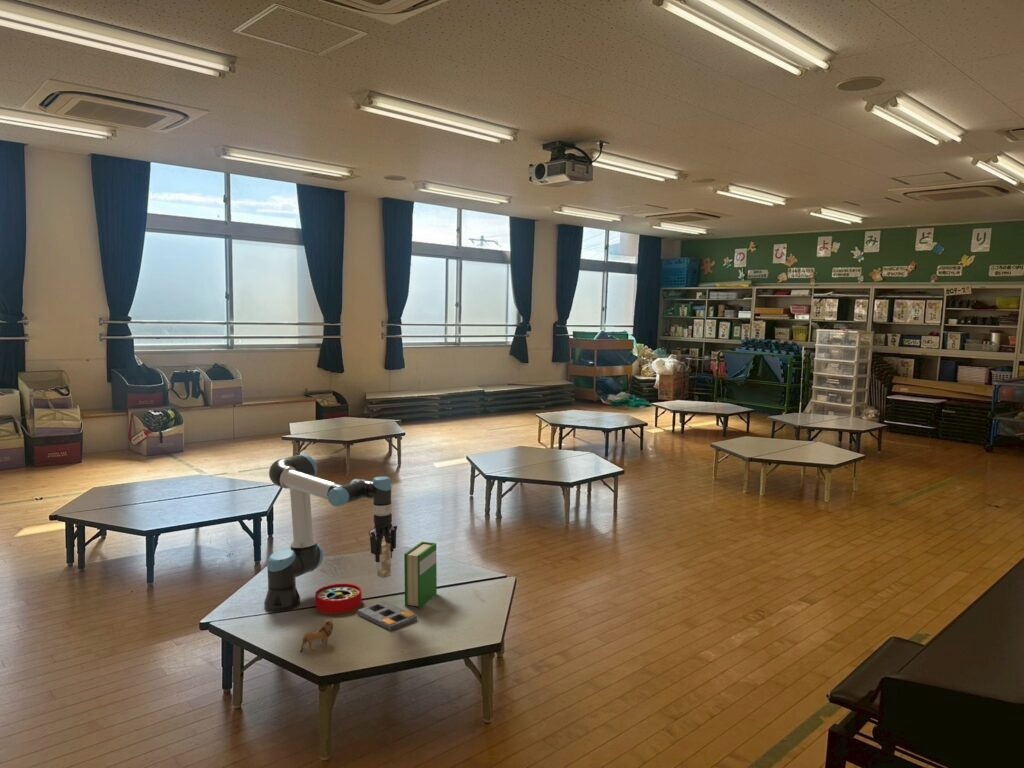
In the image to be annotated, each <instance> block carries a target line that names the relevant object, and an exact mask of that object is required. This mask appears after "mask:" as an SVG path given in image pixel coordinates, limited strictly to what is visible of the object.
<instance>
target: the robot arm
mask: <svg viewBox="0 0 1024 768" xmlns="http://www.w3.org/2000/svg"><path fill="white" fill-rule="evenodd" d="M317 473H318V466H317V462H316V460H315V459H313V457H312V456H311V455H310V454H306V453H305V454H304V453H302V454H296V455H292V456H288V457H284V458H279V459H277V460H275V461H273V462H272V464H271V465H270V468H269V470H268V477H269V479H270V481H271V482H272V484H274V485H276V486H278V487H280V488H282V489H289V495H290V497H289V498H290V509H291V520H292V523H291V524H292V537H293V538H292V539H293V541H292V543H290V545H289V546H290V549H286V548H285V549H282V550H278V551H275V552H272V553H271V554H270V555H269V556H268V558H267V565H266V568H267V591H266V595H265V598H264V602H263V603H264V606H263V607H264V609H265V610H266V611H268V612H276V613H280V612H286V611H287V612H288V611H290V610H294V609H296V608H297V607H299V606H300V605H301V597H300V594H299V591H298V589H297V584H296V582H297V581H296V579H297V578H298V577H301V576H302V575H305V574H308V573H311V572H313V571H314V570H316V569H318V568H319V567H320V566H321V564H322V563H323V561H324V552H323V549H322V548H321V545H320V544H318V542H317V540H316V539H315V538H314V534H313V533H314V532H313V519H312V504H311V503H312V502H311V495H312V496H315V497H319V498H322V499H325V500H328V502H329V503H330V505H331V506H333V507H340V506H341V507H342V506H344V505H347V504H349V503H352V502H355V501H359V500H361V499H370V500H373V501H372V503H373V504H372V505H373V507H372V508H373V524H374V526H373V529H371V530H369V531H368V536H369V542H370V553H371V554H372V555H374V556H375V557H374V561H375V562H376V570H377V569H379V570H382V554H380V551H381V544H382V542H383V539H384V540H385V541H384V542H387V543H390V560H391V561H392V558H393V552H394V551H395V550H396V549H397V530H398V526H397V525H395V524H393V523H392V522H393V519H392V518H393V517H392V516H393V514H392V512H393V511H392V510H393V509H392V507H393V506H392V482H391V481H392V480H391V477H389V476H376V477H373V479H372V480H369V479H368V480H367V479H362V478H354V479H352V480H351V481H350V483H347V484H340V483H337V482H333V481H330V480H327V479H324V478H322V477H318V476H316V475H317Z"/></svg>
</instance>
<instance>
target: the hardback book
mask: <svg viewBox="0 0 1024 768" xmlns="http://www.w3.org/2000/svg"><path fill="white" fill-rule="evenodd" d="M403 560H404V565H403V566H404V572H403V573H404V607H408V606H415V607H417V609H422V607H423V606H425V605H426V604H427V603H428V602H429V601H430V600H431V599H432V598H434V597H435V596H436V595H437V593H438V592H437V591H438V589H437V585H438V584H437V579H438V578H437V575H438V574H437V543H436V542H429V541H421V542H418V544H416V545H415V546H413V547H412V548H410V549H409V550H408V551H406V552H404V559H403Z"/></svg>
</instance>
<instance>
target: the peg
mask: <svg viewBox="0 0 1024 768" xmlns="http://www.w3.org/2000/svg"><path fill="white" fill-rule="evenodd" d="M380 554H382V570H379V569H377V568H376V570H377V577H379V578H381V579H385V578H389V577H392V574H391V573H392V559H391V560H390V543H387V542H385V541H382V544H381V551H380Z"/></svg>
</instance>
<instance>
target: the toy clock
mask: <svg viewBox="0 0 1024 768" xmlns="http://www.w3.org/2000/svg"><path fill="white" fill-rule="evenodd" d="M362 598H363V597H362V588H361V586H359V585H357V584H353V583H334V584H330V585H326V586H322V587H320V588H318V589H317V590H316V592H315V595H314V599H315V602H314V603H315V609H316V610H317V611H319V612H320V613H322V614H323V613H324V614H331V615H332V614H336V615H337V614H343V613H349V612H352V611H354V610H356V609H358V608H359V607H360V606H361V605H362V601H363V600H362Z"/></svg>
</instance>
